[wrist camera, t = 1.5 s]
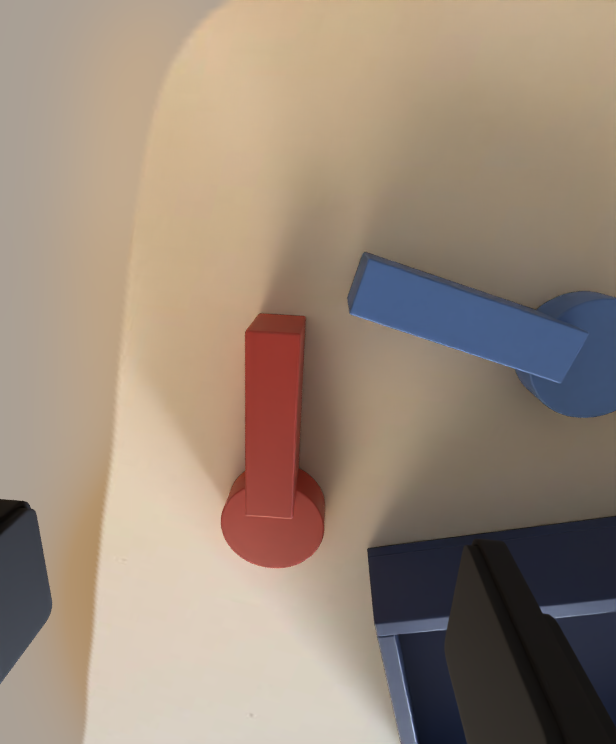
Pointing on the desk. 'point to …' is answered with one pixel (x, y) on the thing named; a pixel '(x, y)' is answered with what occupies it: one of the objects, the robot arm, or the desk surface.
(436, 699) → the blue bin
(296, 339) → the red spoon
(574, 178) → the desk surface
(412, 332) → the blue spoon
